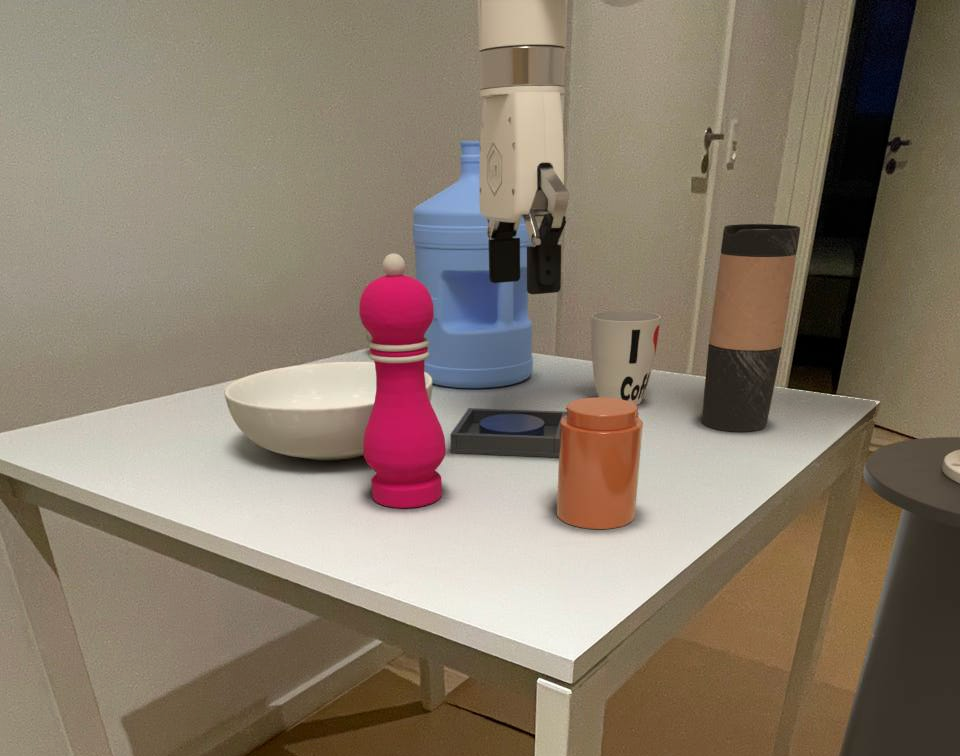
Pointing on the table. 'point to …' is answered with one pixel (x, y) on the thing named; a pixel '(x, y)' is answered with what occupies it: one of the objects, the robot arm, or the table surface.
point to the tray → (472, 442)
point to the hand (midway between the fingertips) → (523, 287)
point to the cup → (623, 352)
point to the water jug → (470, 289)
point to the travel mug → (748, 324)
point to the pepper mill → (401, 391)
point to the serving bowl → (308, 408)
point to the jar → (599, 463)
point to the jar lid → (512, 425)
